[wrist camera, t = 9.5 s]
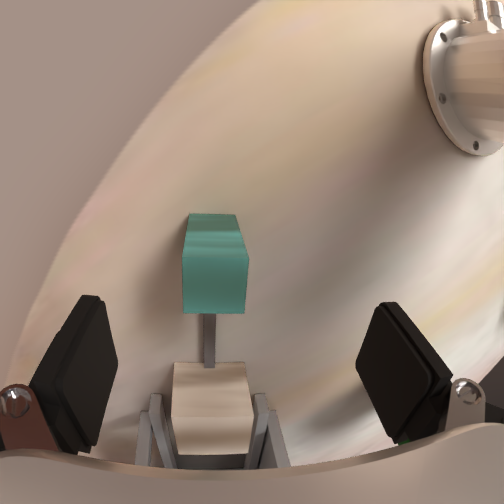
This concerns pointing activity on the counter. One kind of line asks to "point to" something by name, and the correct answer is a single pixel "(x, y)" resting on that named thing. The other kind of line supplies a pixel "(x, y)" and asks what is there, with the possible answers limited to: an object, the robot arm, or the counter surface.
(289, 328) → the counter surface
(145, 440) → the grey storage bin
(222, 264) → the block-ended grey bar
